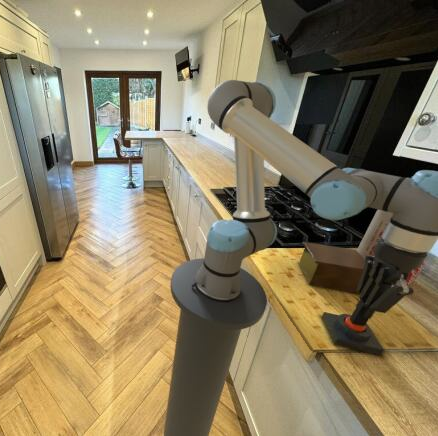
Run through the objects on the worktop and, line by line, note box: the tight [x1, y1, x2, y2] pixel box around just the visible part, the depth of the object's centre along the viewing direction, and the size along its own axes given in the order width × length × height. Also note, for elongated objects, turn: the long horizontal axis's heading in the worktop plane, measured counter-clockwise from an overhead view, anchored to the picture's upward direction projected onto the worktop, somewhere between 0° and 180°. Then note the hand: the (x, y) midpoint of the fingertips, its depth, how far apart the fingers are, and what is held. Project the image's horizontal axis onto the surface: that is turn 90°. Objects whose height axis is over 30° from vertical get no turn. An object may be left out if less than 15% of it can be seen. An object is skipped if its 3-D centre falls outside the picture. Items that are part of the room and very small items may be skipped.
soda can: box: [406, 259, 426, 288], centre depth 80 cm, size 7×7×12 cm
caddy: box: [298, 246, 362, 295], centre depth 82 cm, size 16×13×9 cm
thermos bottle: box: [356, 209, 393, 266], centre depth 89 cm, size 8×8×28 cm
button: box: [344, 317, 366, 332], centre depth 61 cm, size 4×4×2 cm
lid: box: [302, 241, 365, 271], centre depth 80 cm, size 17×13×1 cm
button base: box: [321, 311, 385, 357], centre depth 62 cm, size 10×9×4 cm
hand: (356, 322), depth 60 cm, fingers closed
